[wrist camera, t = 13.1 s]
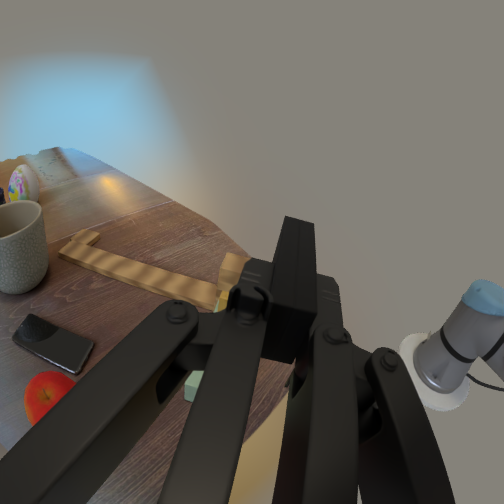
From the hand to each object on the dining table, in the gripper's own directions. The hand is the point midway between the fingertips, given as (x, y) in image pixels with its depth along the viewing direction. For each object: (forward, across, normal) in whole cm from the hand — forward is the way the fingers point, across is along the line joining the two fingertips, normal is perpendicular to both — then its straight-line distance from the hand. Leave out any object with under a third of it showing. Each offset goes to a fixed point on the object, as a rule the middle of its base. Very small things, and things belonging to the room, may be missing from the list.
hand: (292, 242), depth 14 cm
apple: (-7, -20, -32) cm, 38 cm away
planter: (+14, -51, -32) cm, 62 cm away
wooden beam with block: (+30, -25, -32) cm, 50 cm away
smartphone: (+4, -32, -32) cm, 45 cm away
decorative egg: (+41, -83, -32) cm, 98 cm away
